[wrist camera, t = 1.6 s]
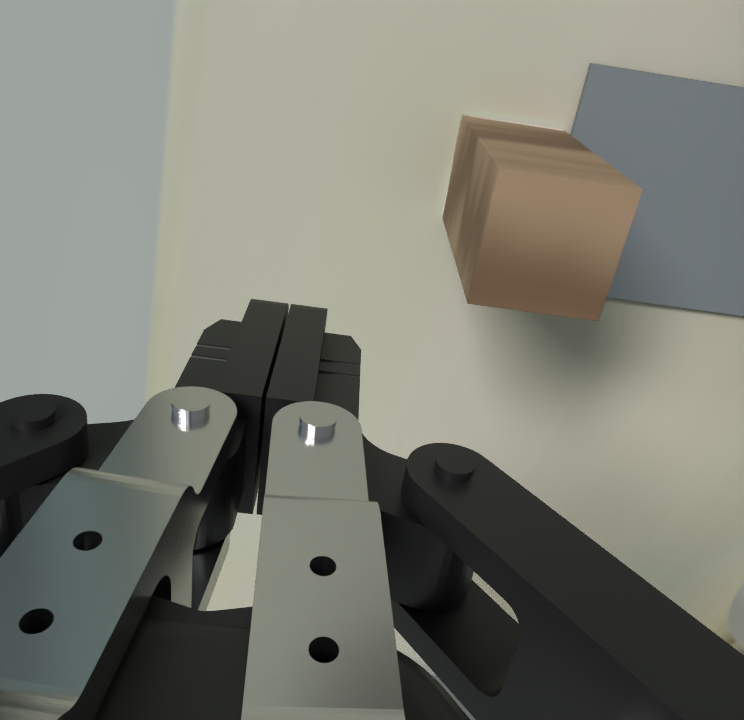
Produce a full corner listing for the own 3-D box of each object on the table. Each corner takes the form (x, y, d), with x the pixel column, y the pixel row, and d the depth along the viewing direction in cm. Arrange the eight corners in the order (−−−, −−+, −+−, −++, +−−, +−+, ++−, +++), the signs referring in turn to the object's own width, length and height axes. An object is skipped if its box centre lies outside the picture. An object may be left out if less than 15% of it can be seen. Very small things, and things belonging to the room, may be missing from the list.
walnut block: (461, 114, 29) (498, 168, 20) (563, 129, 30) (643, 189, 21) (442, 215, 31) (467, 303, 23) (536, 228, 32) (598, 320, 23)
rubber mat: (589, 63, 28) (591, 63, 28) (862, 106, 29) (866, 107, 29) (529, 284, 33) (530, 286, 33) (764, 316, 34) (767, 319, 33)
